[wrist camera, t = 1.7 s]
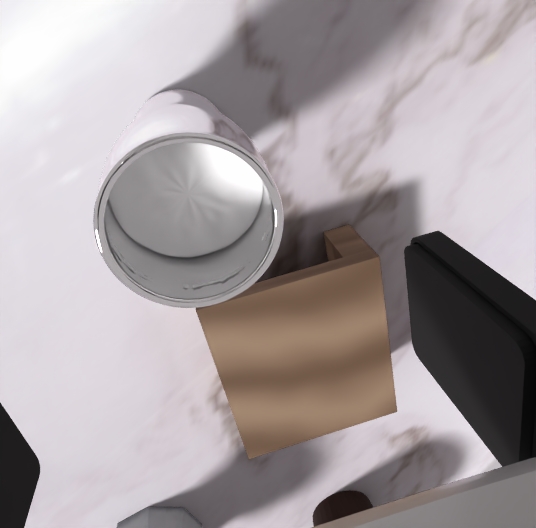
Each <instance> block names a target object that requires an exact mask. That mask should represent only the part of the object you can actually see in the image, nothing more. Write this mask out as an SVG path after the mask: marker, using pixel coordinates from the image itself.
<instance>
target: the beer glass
mask: <svg viewBox="0 0 536 528" xmlns="http://www.w3.org/2000/svg"><path fill="white" fill-rule="evenodd" d="M283 223H284V216H283V206H282V201H281V197H280V194H279V191H278V189H277V186H276V184H275V182H274V180H273V178H272V177H271V175H270V172H269V170H268V168H267V165H266V163H265V161H264V159H263V157H262V155H261V154H260V152H259V151H258V149H257V147H256V146H255V144H254V143H253V141H252V140H251V139H250V138H249V136H248V135H247V134H246V133H245V132H244V131H243V130H242V129H241V128H240V127H239V126H238V125H237V124H236V123H234V122H233V121H232V120H231V119H229V118H228V117H226V116H225V115H223V114H221V113H220V111H219V110H218V109H217V107H216V106H215V105H214V104H213V103H212V102H210V101H209V100H208V99H206V98H205V97H203V96H201V95H199V94H197V93H194V92H191V91H187V90H168V91H164V92H161V93H159V94H156V95H155V96H153V97H151V98H150V99H148V100H147V101H146V102H145V103H144V104H143V105H142V106H141V108H140V109H139V110H138V112H137V114H136V116H135V118H134V120H133V121H132V122H131V123H130V124H129V125H128V126H127V127H126V128H125V129H124V130H123V131H122V133H121V134H120V135H119V137H118V138H117V140H116V141H115V143H114V144H113V146H112V148H111V150H110V151H109V154H108V156H107V158H106V161H105V164H104V167H103V170H102V174H101V178H100V183H99V189H98V195H97V198H96V202H95V208H94V232H95V238H96V242H97V245H98V248H99V250H100V253H101V255H102V257H103V259H104V261H105V263H106V264H107V266H108V267H109V269H110V270H111V271H112V273H113V274H114V275H115V276H116V277H117V278H118V279H119V280H120V281H121V282H122V283H123V284H124V285H125V286H126V287H128V288H129V289H130V290H132V291H133V292H135V293H137V294H138V295H140V296H142V297H144V298H146V299H148V300H151V301H153V302H156V303H159V304H163V305H167V306H172V307H181V308H196V307H204V306H210V305H214V304H218V303H221V302H224V301H226V300H229V299H231V298H233V297H235V296H237V295H239V294H240V293H242V292H244V291H245V290H246V289H248V288H249V287H250V286H252V285H253V284H254V283H255V282H256V281H257V280H258V279H259V278H260V277H261V276H262V275H263V274H264V273H265V271H266V270H267V269H268V267H269V266H270V264H271V263H272V261H273V259H274V257H275V255H276V253H277V251H278V248H279V245H280V242H281V238H282V233H283Z"/></svg>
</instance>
